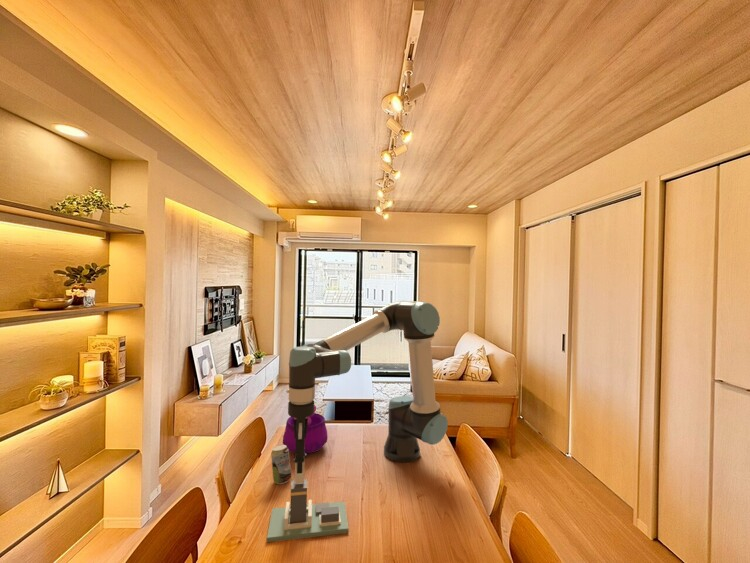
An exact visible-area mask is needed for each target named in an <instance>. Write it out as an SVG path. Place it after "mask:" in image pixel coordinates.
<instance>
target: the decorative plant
mask: <svg viewBox="0 0 750 563" xmlns="http://www.w3.org/2000/svg"><path fill="white" fill-rule="evenodd" d="M316 411H317V406H316V405H315V404H314V413H313V414H312V415H311V416H309V417H306V418H308V427H307V435H306V438H305V451H304V453H307V454H311V453H314V452H315V453H316V452H317V451H319V450H321V449H322V448H323V447H324V446H325V445H326V444H327V443H328V430H327V426H326V419H325V417H324V415H323V414H320V413H316ZM294 419H297V418H294V417H291V416H289V417H288V418H287V420H286V423H285V429H284V433H283V435H282V445H286V446H287V448H288V449H289V453H290V452H291V453H294V454H295V449H296V439H295V438H294V431H295V430H294Z"/></svg>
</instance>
